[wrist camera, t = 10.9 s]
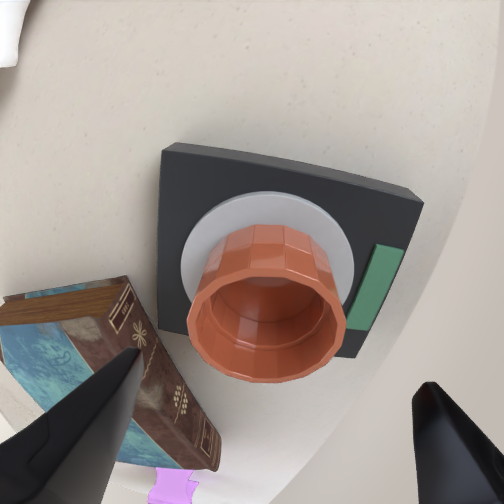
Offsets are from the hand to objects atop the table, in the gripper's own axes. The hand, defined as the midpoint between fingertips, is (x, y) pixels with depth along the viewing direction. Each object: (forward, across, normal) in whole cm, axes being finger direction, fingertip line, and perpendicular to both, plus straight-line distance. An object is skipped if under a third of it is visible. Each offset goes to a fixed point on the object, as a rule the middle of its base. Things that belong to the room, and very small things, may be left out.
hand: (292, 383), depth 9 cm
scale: (+12, 0, +2) cm, 12 cm away
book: (+12, +14, +20) cm, 27 cm away
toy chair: (+12, +7, +45) cm, 47 cm away
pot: (+9, +1, +2) cm, 9 cm away
